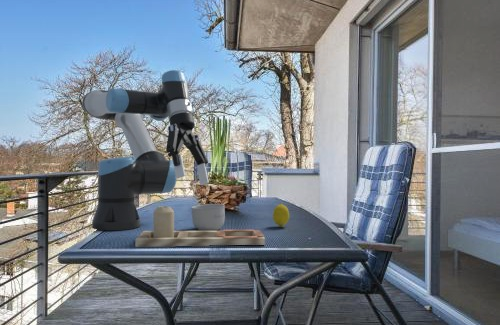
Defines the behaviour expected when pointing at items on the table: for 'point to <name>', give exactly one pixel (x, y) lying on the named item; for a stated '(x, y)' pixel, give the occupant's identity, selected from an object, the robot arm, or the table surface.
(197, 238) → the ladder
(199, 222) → the teacup
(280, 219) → the lemon
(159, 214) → the candle
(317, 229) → the table surface
